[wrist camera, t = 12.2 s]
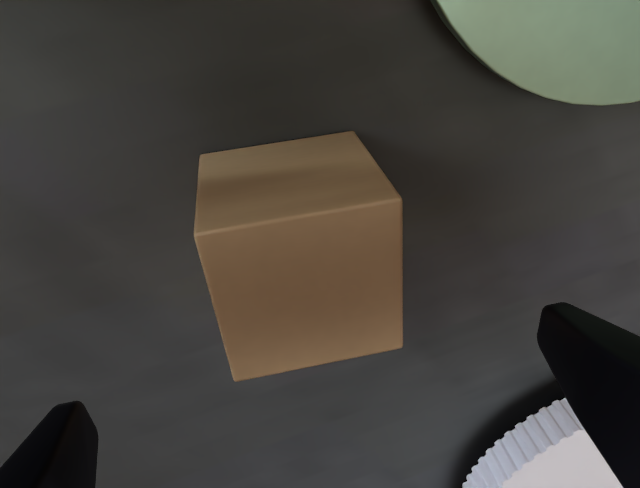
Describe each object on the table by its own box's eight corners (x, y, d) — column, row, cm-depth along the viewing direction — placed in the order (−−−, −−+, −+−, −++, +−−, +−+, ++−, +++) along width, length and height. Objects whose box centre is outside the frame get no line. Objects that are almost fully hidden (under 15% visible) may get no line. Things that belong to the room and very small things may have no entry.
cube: (361, 256, 16) (404, 349, 13) (229, 280, 16) (234, 384, 12) (354, 129, 14) (404, 198, 10) (198, 153, 13) (192, 234, 10)
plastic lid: (754, 401, 26) (802, 442, 24) (563, 544, 31) (588, 589, 29) (599, 314, 20) (644, 358, 18) (394, 508, 25) (411, 561, 23)
